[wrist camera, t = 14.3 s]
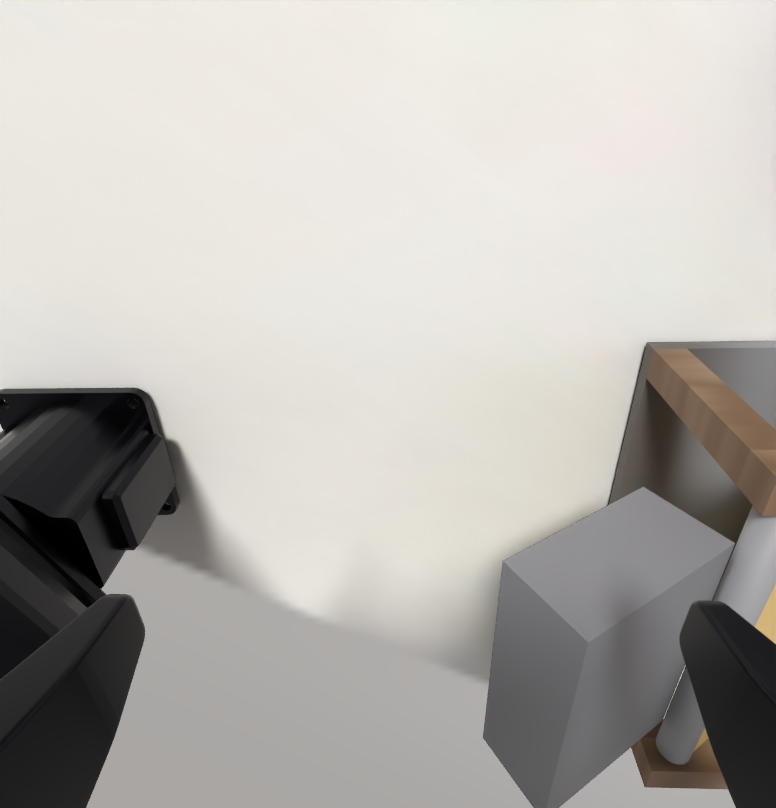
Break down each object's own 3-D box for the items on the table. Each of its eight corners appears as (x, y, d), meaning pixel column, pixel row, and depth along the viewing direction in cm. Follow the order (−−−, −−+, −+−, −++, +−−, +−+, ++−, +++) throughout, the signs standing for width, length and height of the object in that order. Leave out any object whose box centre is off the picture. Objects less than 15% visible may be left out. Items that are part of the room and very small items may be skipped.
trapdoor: (480, 759, 20) (562, 877, 17) (507, 520, 14) (642, 637, 11) (755, 561, 28) (845, 617, 25) (847, 354, 22) (981, 394, 19)
